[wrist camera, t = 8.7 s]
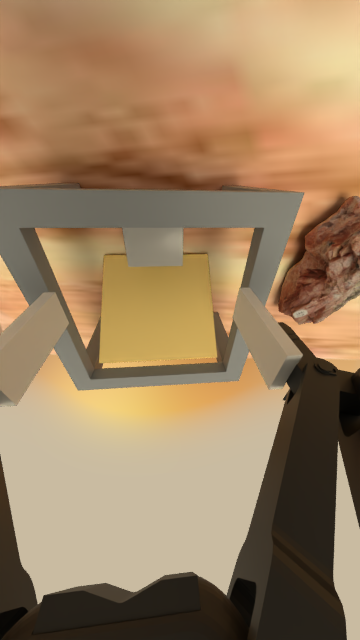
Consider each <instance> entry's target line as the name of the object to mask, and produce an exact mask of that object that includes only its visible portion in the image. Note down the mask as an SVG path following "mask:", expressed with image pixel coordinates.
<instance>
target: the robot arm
mask: <svg viewBox="0 0 360 640" xmlns="http://www.w3.org/2000/svg"><path fill="white" fill-rule="evenodd" d="M233 319H234V321H235V323H236V325H237V327H238V329H239V331H240V333H241V335H242V337H243V339H244V341H245V343H246V345H247V347H248V349H249V351H250V353H251V355H252V357H253V359H254V361H255V363H256V365H257V367H258V369H259V371H260V373H261V375H262V377H263V379H264V381H265V383H266V385H267V387H268V389H282V388H283V387H284V385H285V383H286V382H287V384H288V386H289V387H290V389H289V391H288V393H287V394H286V395H285V397H284V398H283V400H285V404H284V408H283V411H282V415H281V418H280V422H279V425H278V429H277V432H276V436H275V439H274V443H273V446H272V450H271V453H270V457H269V461H268V464H267V468H266V471H265V475H264V478H263V482H262V485H261V489H260V493H259V496H258V500H257V503H256V507H255V510H254V514H253V518H252V521H251V524H250V528H249V532H248V535H247V538H246V540H245V542H244V544H243V546H242V549H241V551H240V553H239V556H238V559H237V562H236V565H235V569H234V572H233V575H232V579H231V582H230V586H229V589H228V593H227V596H226V595H225V594H224V593H223V592H222V591H221V590H220V589H218V588H217V587H216V586H215V585H213V584H212V583H210V582H209V581H207V580H205V579H203V578H202V577H199V576H197V575H196V574H195V573H193V572H187V573H179V574H172V575H165V576H163V577H161V578H160V579H158V580H156V581H154V582H153V583H151V584H149V585H148V586H146V587H144V588H142V589H141V590H139V591H137V592H130V591H127V590H124V589H121V588H119V587H116V586H113V585H110V584H107V583H103V584H95V585H87V586H79V587H74V588H70V589H67V590H63V591H59V592H55V593H51V594H47V595H44V596H43V599H42V602H41V603H40V604H37V599H36V594H35V590H34V586H33V583H32V580H31V578H30V576H29V574H28V573H27V572H26V571H25V570H24V569H23V567H22V565H21V562H20V558H19V552H18V547H17V542H16V536H15V531H14V526H13V520H12V515H11V510H10V505H9V499H8V494H7V488H6V483H5V478H4V472H3V467H2V462H1V456H0V640H347V636H346V621H345V615H344V610H343V606H342V603H341V601H340V599H339V597H338V594H337V592H336V590H335V587H334V582H333V559H334V533H335V507H336V480H337V452H338V442H339V446H340V450H341V454H342V458H343V462H344V466H345V470H346V474H347V478H348V482H349V487H350V490H351V495H352V499H353V503H354V507H355V511H356V515H357V519H358V523H359V527H360V368H359V369H358V370H357V371H356V373H351V372H347V371H341V370H338V369H337V368H336V367H335V366H334V365H333V364H332V363H330V362H328V361H326V360H324V359H320V358H316V357H315V355H314V354H313V353H312V352H311V351H310V350H309V348H308V347H307V346H306V345H305V344H304V343H303V341H302V340H300V338H299V337H298V336H297V335H296V333H295V332H294V331H293V330H292V329H291V327H289V326H288V325H286V324H285V323H283V322H280V323H277V321H276V320H275V319H274V318H273V316H272V315H271V314H270V313H269V311H268V310H267V309H266V308H265V306H264V305H263V304H262V303H261V301H260V300H259V299H258V298H257V296H256V295H255V294H254V293H253V291H252V290H251V289H250V288H239V292H238V296H237V301H236V305H235V309H234V314H233ZM68 324H69V322H68V320H67V317H66V315H65V313H64V311H63V308H62V306H61V304H60V302H59V299H58V297H57V295H56V293H55V292H44V293H43V294H42V295H41V296H40V297H38V298H37V299H36V300H35V301H34V302H33V303H32V304H31V305H30V306H29V307H28V308H27V309H26V310H25V311H24V312H23V313H22V314H21V315H20V316H19V317H18V318H17V319H16V320H15V321H14V322H13V323H12V324H11V325H10V326H9V327H7V328H6V329H5V330H4V331H3V332H2V333H1V334H0V407H2V406H16V405H17V404H18V403H19V401H20V399H21V398H22V396H23V395H24V393H25V392H26V390H27V388H28V387H29V385H30V384H31V382H32V381H33V379H34V377H35V376H36V374H37V373H38V371H39V370H40V368H41V366H42V365H43V363H44V362H45V360H46V359H47V357H48V356H49V354H50V352H51V351H52V349H53V348H54V346H55V345H56V343H57V342H58V340H59V338H60V337H61V335H62V334H63V332H64V331H65V329H66V327H67V326H68Z"/></svg>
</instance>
